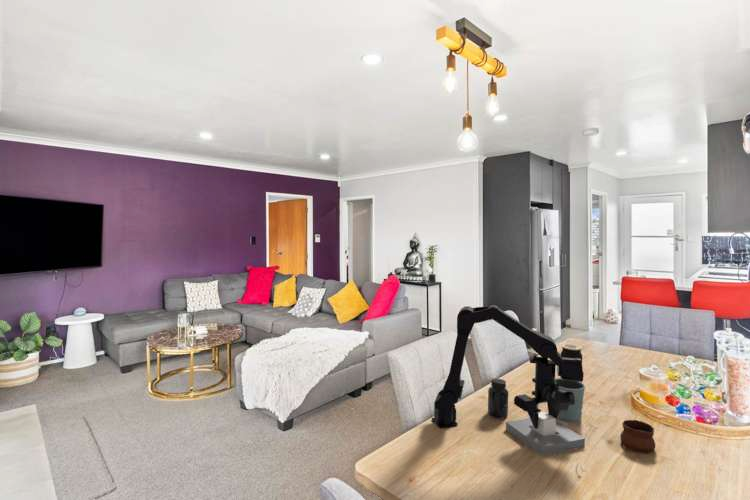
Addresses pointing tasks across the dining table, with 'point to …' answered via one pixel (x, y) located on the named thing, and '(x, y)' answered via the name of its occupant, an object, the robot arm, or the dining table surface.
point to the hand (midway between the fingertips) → (543, 426)
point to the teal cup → (575, 410)
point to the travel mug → (571, 351)
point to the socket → (547, 444)
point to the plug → (545, 424)
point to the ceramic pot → (638, 436)
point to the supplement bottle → (498, 399)
